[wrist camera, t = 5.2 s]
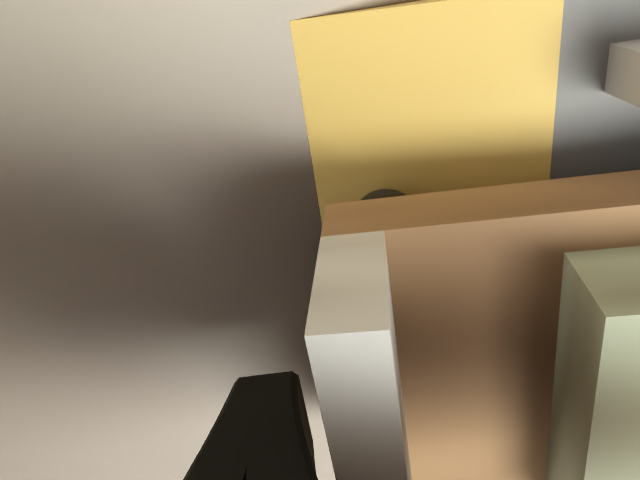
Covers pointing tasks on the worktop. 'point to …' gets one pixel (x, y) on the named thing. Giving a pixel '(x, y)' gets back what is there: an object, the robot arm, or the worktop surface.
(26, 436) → the worktop surface
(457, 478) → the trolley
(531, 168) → the loading dock
